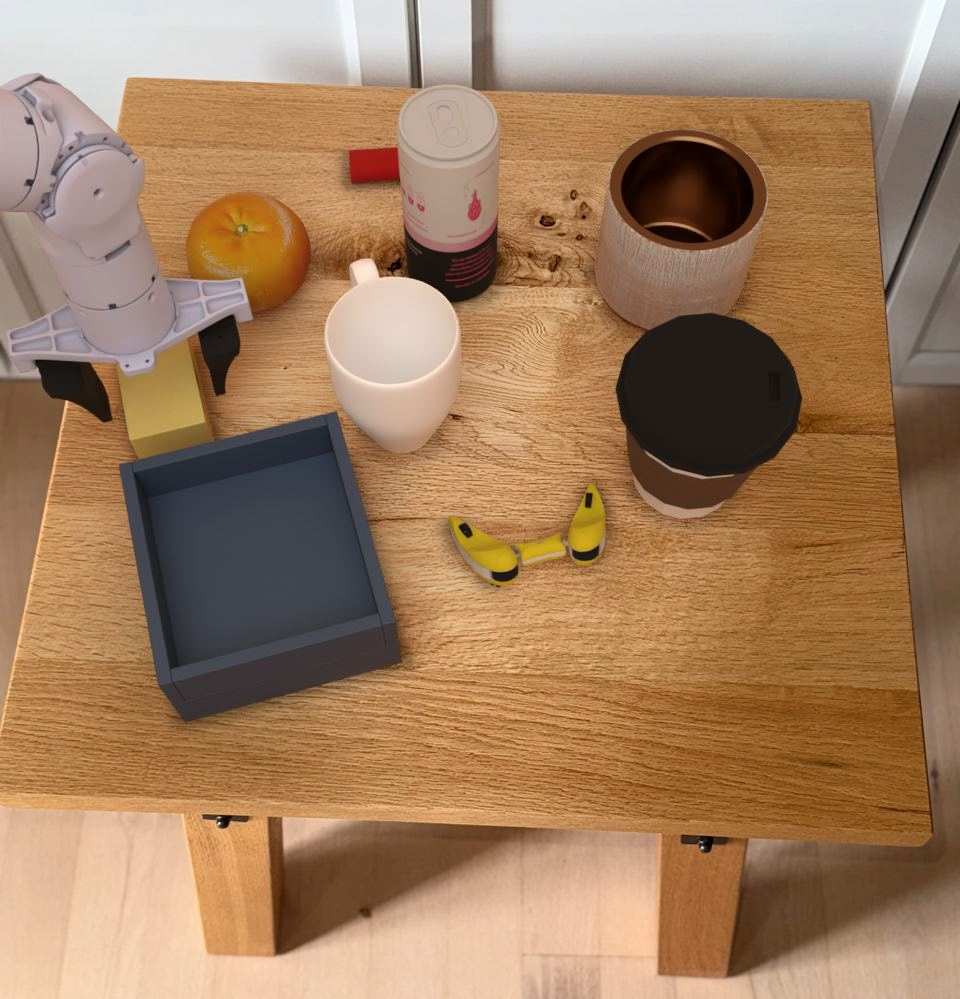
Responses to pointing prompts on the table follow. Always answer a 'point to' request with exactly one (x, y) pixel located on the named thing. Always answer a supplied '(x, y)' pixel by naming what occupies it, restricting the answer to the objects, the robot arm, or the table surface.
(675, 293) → the planter
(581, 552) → the game controller
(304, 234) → the fruit
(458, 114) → the beverage can
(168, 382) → the notepads
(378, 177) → the lighter
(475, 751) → the table surface
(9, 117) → the robot arm
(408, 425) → the mug
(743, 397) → the coffee cup
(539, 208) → the table surface
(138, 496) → the bin
